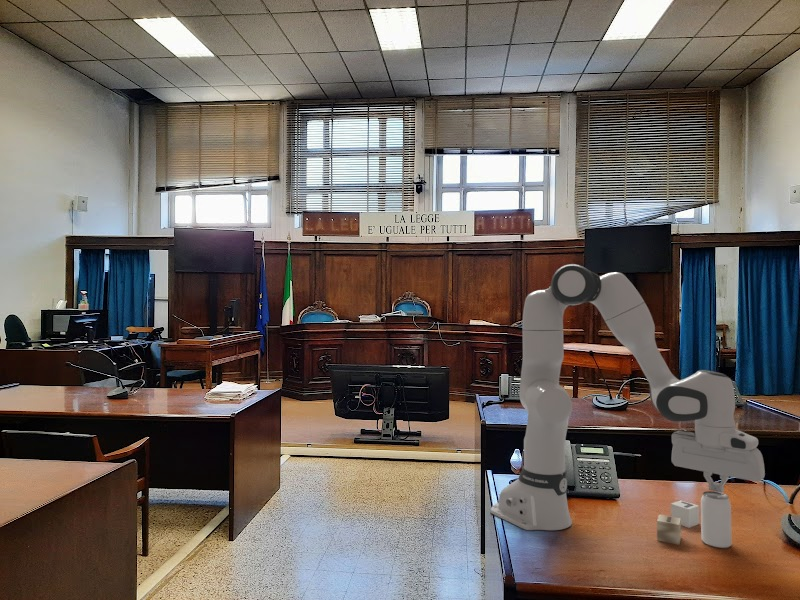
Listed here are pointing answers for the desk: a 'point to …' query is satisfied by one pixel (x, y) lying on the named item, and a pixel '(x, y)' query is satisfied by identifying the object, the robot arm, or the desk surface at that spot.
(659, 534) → the birch block
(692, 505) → the white block
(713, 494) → the can
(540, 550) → the desk surface
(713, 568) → the desk surface
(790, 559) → the desk surface
